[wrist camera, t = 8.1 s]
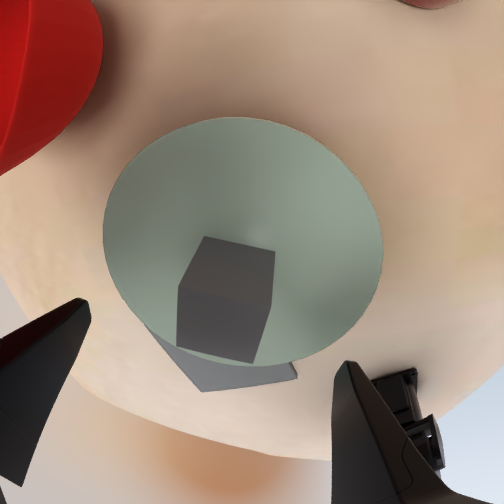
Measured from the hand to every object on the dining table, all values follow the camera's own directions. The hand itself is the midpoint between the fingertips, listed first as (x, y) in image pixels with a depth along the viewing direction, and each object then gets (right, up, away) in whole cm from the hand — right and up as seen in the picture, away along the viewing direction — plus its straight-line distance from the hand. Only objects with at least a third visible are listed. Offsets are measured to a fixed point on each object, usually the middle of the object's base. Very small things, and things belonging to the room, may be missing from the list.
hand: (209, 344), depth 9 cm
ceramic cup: (-13, +18, +5) cm, 23 cm away
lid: (+1, +2, +5) cm, 5 cm away
